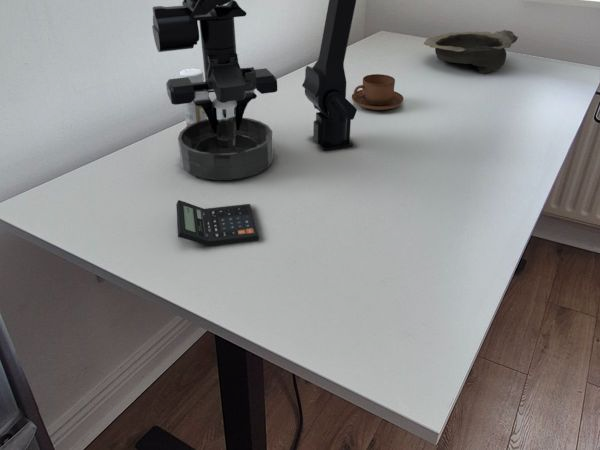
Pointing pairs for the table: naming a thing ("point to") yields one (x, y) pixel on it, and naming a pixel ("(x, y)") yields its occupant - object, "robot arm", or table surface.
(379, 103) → the cup and saucer
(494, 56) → the stone bowl
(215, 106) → the milkshake
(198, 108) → the sprinkles bottle
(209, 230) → the calculator
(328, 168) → the table surface
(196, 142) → the dark round bowl
